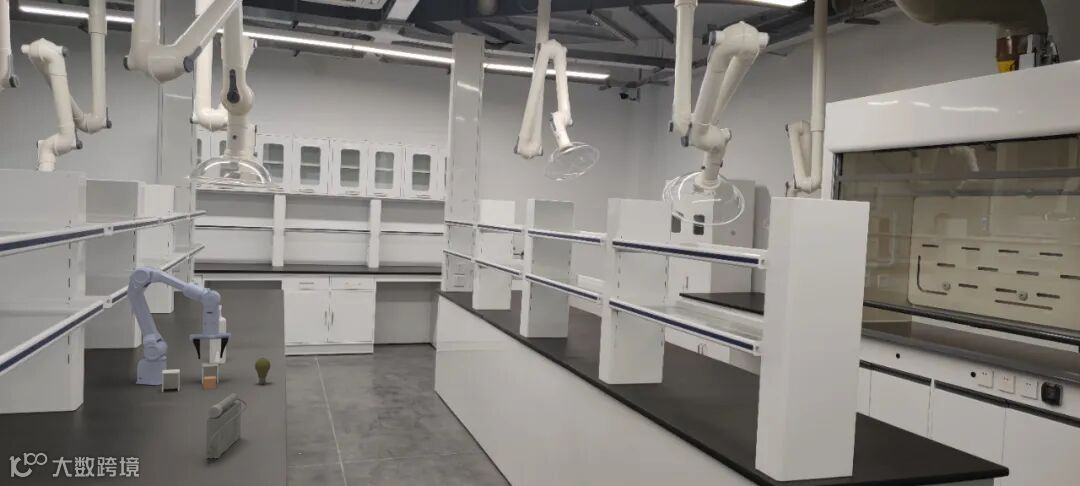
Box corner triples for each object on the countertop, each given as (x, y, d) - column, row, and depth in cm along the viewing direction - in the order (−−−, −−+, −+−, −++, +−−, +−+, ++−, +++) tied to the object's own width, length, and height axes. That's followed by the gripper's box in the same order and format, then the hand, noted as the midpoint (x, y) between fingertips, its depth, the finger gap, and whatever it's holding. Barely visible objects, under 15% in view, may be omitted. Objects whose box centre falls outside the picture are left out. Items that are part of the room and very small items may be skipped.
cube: (203, 389, 277) (204, 379, 277) (203, 387, 280) (203, 376, 280) (215, 389, 278) (215, 378, 278) (215, 386, 282) (215, 376, 282)
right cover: (202, 384, 285) (202, 365, 284) (201, 381, 290) (202, 363, 289) (218, 383, 287) (218, 365, 287) (217, 380, 292) (218, 362, 292)
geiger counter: (227, 390, 221) (195, 412, 196) (249, 390, 221) (220, 412, 196) (226, 437, 221) (194, 465, 196) (248, 437, 222) (219, 465, 197)
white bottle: (207, 365, 317) (209, 306, 317) (209, 361, 328) (212, 303, 328) (224, 365, 319) (227, 306, 319) (226, 360, 330) (228, 304, 330)
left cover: (161, 392, 270) (162, 373, 270) (162, 388, 275) (162, 370, 275) (179, 391, 273) (179, 372, 272) (179, 387, 278) (179, 369, 277)
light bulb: (264, 386, 285) (265, 360, 284) (251, 385, 286) (252, 358, 286) (273, 383, 290) (273, 357, 290) (259, 381, 291) (260, 356, 291)
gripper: (190, 324, 281) (189, 361, 281) (231, 323, 287) (231, 359, 287) (190, 322, 287) (189, 357, 288) (231, 321, 293) (230, 355, 294)
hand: (210, 358), depth 288 cm, fingers open, 7 cm apart
